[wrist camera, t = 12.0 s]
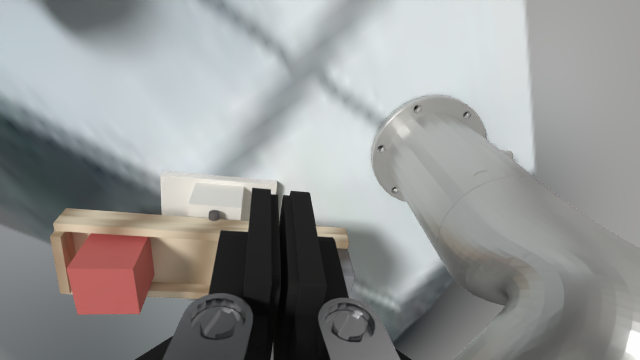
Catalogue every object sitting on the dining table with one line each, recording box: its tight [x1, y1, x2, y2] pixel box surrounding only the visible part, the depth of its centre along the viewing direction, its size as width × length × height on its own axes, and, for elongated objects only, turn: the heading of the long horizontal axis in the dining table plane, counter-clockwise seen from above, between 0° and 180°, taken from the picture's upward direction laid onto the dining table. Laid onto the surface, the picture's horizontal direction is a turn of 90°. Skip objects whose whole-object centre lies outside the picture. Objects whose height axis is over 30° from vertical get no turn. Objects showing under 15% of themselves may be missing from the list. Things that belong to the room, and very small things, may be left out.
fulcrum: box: [161, 171, 277, 221], centre depth 43 cm, size 12×11×5 cm
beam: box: [50, 208, 355, 299], centre depth 37 cm, size 26×9×7 cm, turn 81°
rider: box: [66, 233, 155, 314], centre depth 35 cm, size 5×5×5 cm
